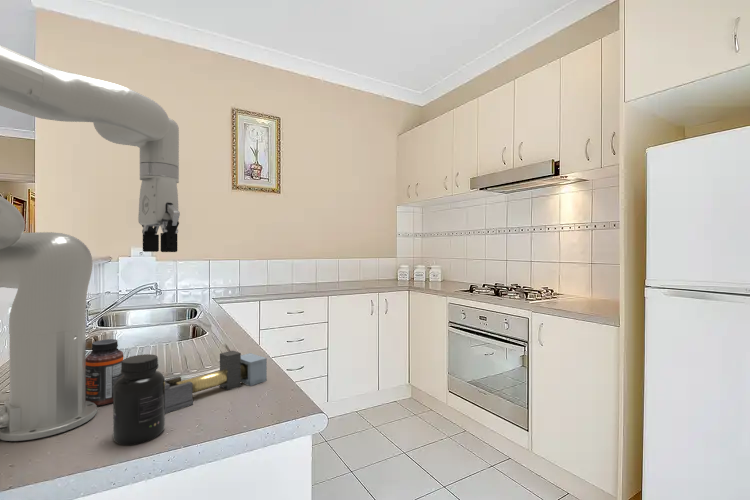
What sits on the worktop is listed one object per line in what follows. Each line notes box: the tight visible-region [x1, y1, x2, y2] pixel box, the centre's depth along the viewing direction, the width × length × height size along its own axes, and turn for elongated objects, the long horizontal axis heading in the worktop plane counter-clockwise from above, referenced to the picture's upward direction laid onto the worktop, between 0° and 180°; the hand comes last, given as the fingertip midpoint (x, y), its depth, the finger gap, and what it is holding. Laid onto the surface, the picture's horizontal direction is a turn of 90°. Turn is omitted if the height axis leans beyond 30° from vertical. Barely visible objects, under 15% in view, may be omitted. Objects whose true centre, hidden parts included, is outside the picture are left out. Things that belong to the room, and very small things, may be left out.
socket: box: [241, 352, 268, 387], centre depth 82 cm, size 4×6×5 cm, turn 51°
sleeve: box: [165, 375, 194, 414], centre depth 67 cm, size 10×6×5 cm, turn 141°
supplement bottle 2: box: [112, 353, 166, 446], centre depth 58 cm, size 7×7×12 cm
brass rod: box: [174, 350, 248, 394], centre depth 76 cm, size 16×3×7 cm, turn 141°
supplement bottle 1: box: [86, 338, 125, 407], centre depth 71 cm, size 6×6×11 cm
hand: (159, 251), depth 82 cm, fingers open, 9 cm apart
